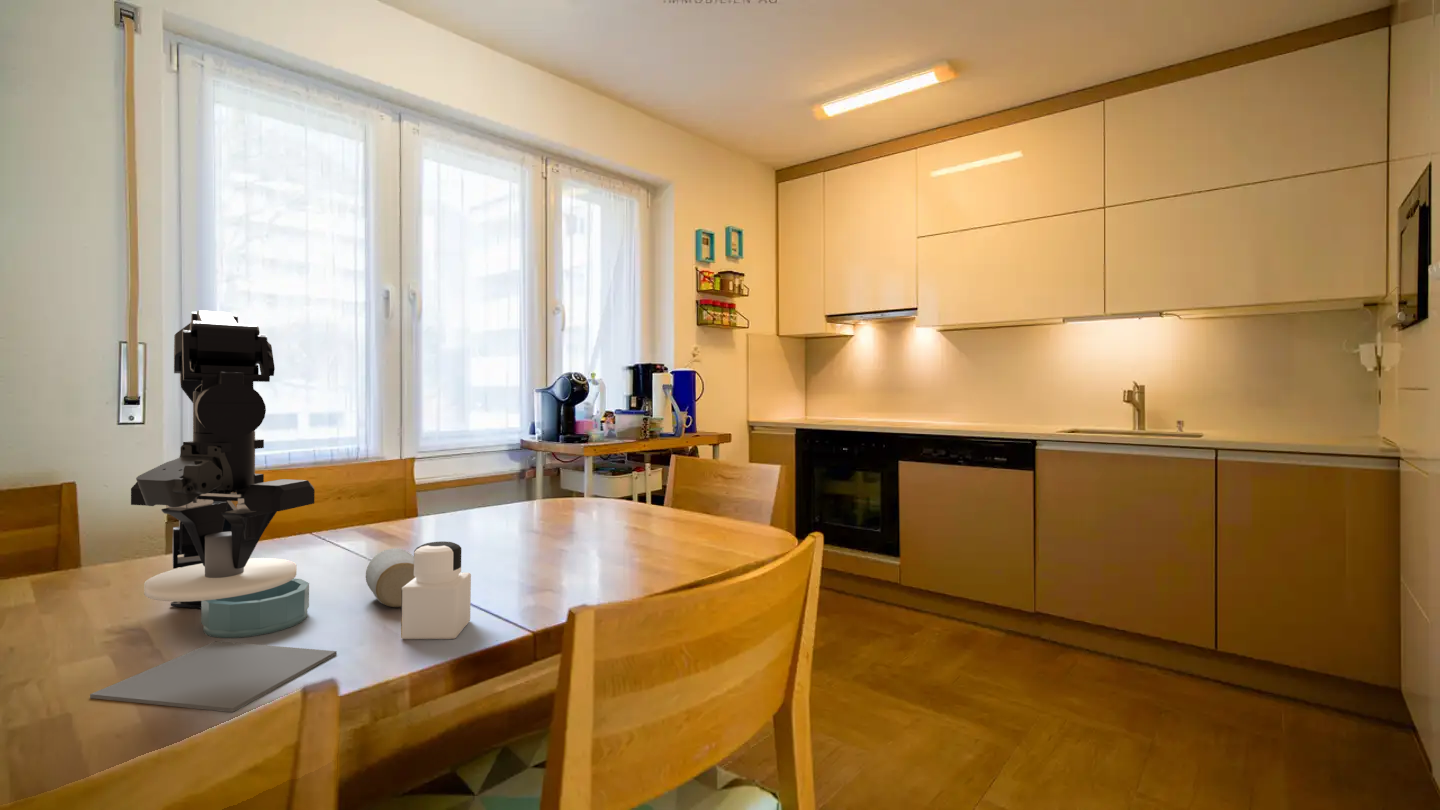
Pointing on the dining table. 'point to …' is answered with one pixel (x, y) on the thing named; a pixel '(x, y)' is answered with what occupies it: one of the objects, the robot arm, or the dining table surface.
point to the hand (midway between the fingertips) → (224, 567)
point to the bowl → (256, 611)
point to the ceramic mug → (390, 575)
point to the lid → (219, 575)
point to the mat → (216, 676)
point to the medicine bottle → (436, 594)
